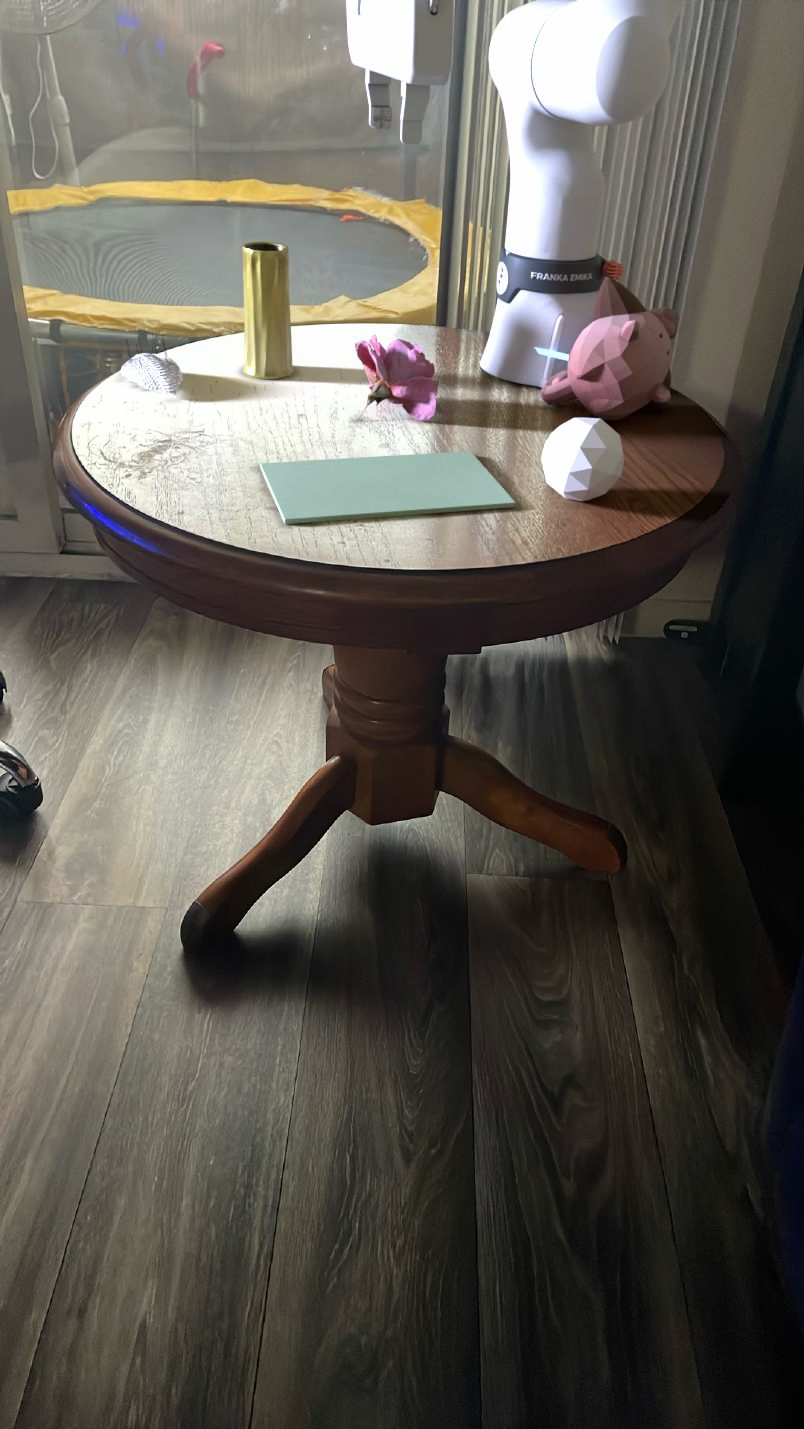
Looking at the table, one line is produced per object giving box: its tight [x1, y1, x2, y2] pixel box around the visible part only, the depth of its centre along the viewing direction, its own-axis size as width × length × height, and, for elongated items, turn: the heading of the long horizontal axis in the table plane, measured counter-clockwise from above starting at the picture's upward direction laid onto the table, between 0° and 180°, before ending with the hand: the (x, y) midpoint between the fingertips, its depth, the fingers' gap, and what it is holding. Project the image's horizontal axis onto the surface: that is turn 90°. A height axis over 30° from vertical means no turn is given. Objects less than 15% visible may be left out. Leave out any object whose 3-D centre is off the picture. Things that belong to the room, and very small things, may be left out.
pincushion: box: [120, 332, 184, 395], centre depth 118 cm, size 12×6×6 cm, turn 32°
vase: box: [242, 241, 294, 380], centre depth 121 cm, size 6×6×14 cm
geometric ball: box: [541, 417, 625, 502], centre depth 98 cm, size 8×8×8 cm
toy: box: [539, 277, 680, 421], centre depth 118 cm, size 17×16×15 cm
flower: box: [354, 334, 441, 422], centre depth 115 cm, size 11×10×10 cm
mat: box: [259, 450, 516, 525], centre depth 99 cm, size 22×13×1 cm, turn 106°
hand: (393, 135), depth 92 cm, fingers open, 8 cm apart
